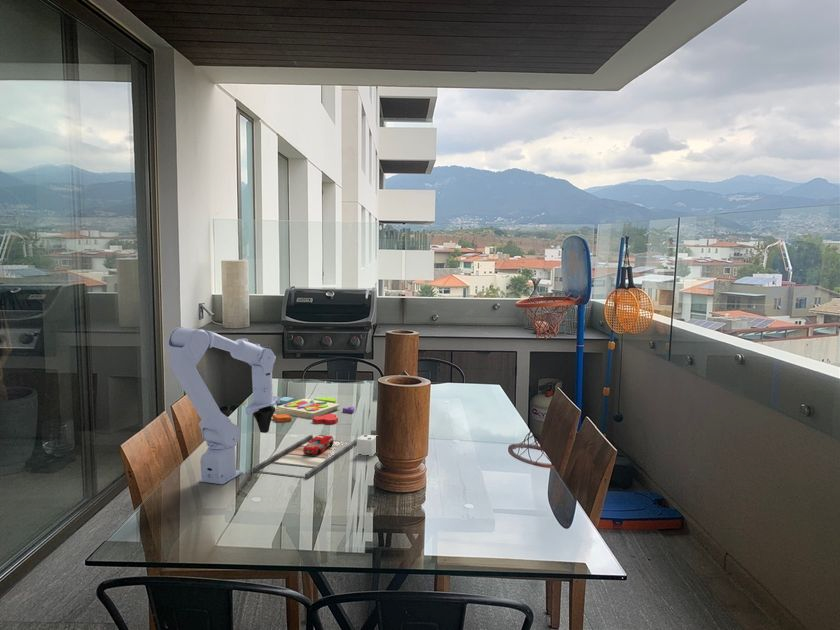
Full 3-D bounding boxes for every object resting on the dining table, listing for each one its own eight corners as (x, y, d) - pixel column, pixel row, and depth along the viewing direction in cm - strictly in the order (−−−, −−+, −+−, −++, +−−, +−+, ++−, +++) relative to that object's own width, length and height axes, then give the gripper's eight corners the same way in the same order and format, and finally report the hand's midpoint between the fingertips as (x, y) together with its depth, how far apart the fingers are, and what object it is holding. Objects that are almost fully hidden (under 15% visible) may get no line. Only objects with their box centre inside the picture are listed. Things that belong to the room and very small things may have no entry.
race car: (315, 457, 190) (315, 444, 189) (300, 455, 192) (299, 443, 191) (336, 444, 202) (336, 432, 201) (322, 442, 204) (321, 430, 203)
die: (372, 456, 190) (371, 440, 189) (357, 454, 192) (356, 438, 191) (378, 451, 195) (378, 435, 194) (363, 449, 196) (363, 433, 196)
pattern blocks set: (240, 420, 235) (240, 412, 235) (286, 399, 267) (286, 392, 267) (332, 427, 224) (332, 419, 223) (368, 404, 255) (368, 397, 255)
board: (308, 478, 173) (308, 474, 172) (252, 471, 179) (252, 467, 178) (359, 443, 203) (358, 439, 203) (310, 438, 209) (310, 434, 209)
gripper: (259, 393, 177) (261, 440, 179) (287, 383, 191) (289, 426, 192) (238, 392, 180) (240, 437, 181) (267, 381, 193) (269, 424, 195)
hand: (264, 432), depth 187 cm, fingers closed
